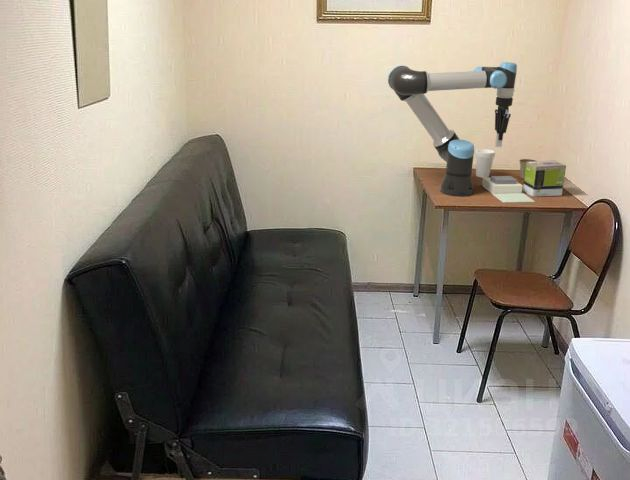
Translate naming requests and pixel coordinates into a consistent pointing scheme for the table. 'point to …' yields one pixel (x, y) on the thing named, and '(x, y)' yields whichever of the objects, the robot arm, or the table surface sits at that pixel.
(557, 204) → the table surface
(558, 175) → the tea box
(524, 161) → the flower pot
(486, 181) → the plate
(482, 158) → the foam cup
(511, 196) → the mat
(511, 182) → the rectangular block
